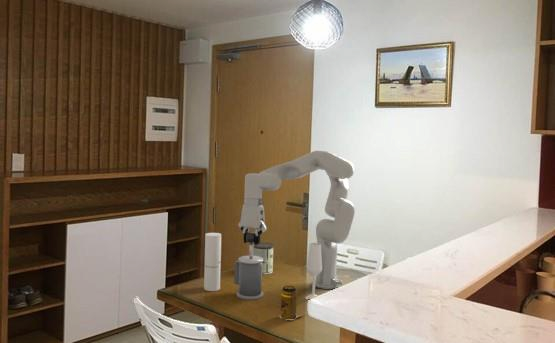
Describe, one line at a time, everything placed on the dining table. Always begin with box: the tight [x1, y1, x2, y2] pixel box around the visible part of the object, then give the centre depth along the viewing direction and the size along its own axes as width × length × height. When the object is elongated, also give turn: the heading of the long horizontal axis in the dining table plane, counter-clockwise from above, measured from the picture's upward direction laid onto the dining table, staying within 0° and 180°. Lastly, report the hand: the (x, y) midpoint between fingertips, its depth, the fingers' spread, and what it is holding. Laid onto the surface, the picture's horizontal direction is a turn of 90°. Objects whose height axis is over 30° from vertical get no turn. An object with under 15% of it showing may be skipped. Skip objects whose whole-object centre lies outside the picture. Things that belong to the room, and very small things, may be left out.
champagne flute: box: [305, 242, 322, 300], centre depth 215 cm, size 7×7×24 cm
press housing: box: [233, 255, 264, 301], centre depth 216 cm, size 14×12×16 cm
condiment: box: [280, 285, 298, 320], centre depth 192 cm, size 7×8×12 cm
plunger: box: [246, 231, 256, 259], centre depth 215 cm, size 5×5×11 cm
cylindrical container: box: [203, 232, 222, 292], centre depth 223 cm, size 7×7×25 cm
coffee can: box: [253, 242, 274, 275], centre depth 253 cm, size 10×10×14 cm
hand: (251, 243), depth 215 cm, fingers closed on plunger, 4 cm apart
